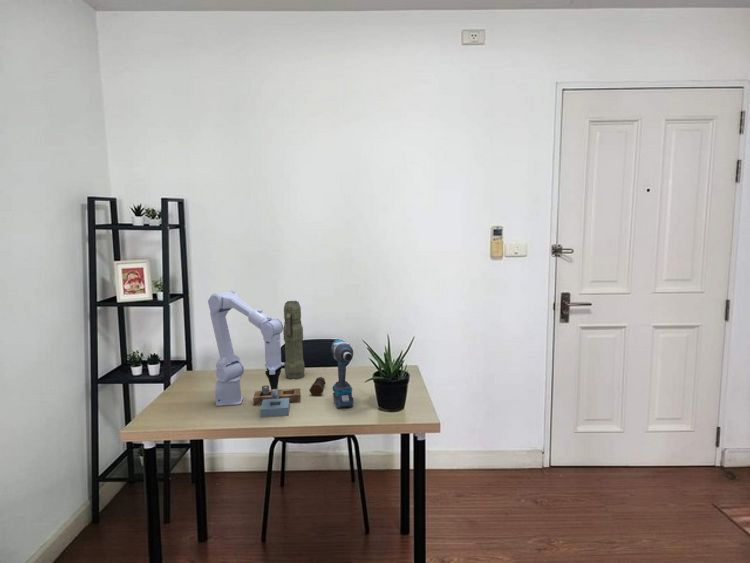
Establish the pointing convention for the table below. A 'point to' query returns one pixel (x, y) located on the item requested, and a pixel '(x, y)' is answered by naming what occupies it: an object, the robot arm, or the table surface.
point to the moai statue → (293, 341)
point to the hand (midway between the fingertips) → (274, 387)
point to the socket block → (275, 407)
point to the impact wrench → (342, 374)
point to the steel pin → (274, 393)
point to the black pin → (265, 390)
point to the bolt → (317, 387)
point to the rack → (283, 393)
